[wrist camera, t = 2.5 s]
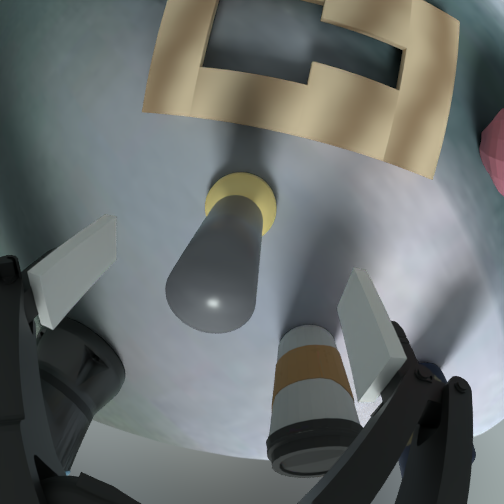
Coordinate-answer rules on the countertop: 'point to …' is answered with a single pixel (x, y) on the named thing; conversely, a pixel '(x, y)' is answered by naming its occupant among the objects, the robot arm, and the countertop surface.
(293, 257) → the countertop surface
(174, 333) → the countertop surface
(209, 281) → the peg
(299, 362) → the coffee cup
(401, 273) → the countertop surface
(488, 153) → the apple
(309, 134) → the keyhole board
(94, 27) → the countertop surface
